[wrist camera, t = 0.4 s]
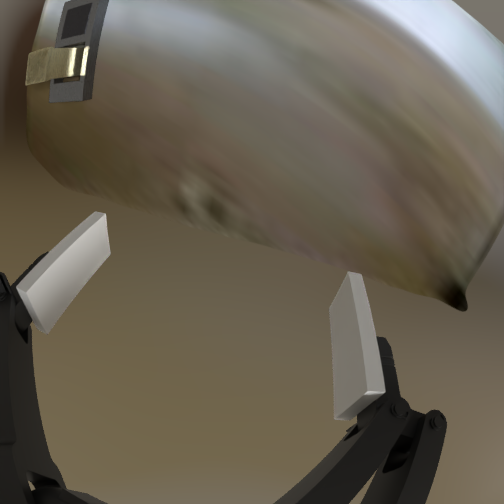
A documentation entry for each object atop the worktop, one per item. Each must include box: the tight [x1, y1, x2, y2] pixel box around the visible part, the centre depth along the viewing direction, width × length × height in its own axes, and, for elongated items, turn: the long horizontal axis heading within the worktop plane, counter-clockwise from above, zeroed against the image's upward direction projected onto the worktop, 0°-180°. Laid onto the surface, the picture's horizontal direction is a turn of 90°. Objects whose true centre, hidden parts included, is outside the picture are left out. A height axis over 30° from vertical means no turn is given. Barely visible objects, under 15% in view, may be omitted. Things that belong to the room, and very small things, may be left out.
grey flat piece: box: [49, 0, 109, 103], centre depth 27 cm, size 20×9×3 cm, turn 168°
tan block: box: [26, 47, 84, 85], centre depth 26 cm, size 5×5×10 cm
